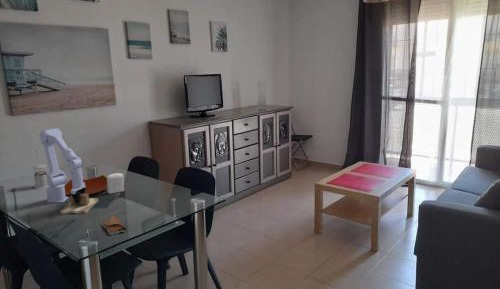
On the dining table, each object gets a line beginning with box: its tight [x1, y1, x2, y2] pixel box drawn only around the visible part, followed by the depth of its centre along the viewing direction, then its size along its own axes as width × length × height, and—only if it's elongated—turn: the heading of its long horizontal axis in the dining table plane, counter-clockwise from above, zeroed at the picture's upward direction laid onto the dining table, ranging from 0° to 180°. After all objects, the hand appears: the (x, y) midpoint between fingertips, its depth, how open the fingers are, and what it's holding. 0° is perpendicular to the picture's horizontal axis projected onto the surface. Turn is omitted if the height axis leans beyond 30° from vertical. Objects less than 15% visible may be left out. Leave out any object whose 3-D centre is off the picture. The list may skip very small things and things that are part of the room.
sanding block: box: [69, 192, 90, 206], centre depth 220 cm, size 9×4×6 cm, turn 91°
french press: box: [32, 150, 49, 190], centre depth 253 cm, size 10×12×25 cm
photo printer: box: [106, 172, 125, 194], centre depth 244 cm, size 10×4×12 cm, turn 124°
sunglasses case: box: [102, 214, 127, 232], centre depth 195 cm, size 18×7×7 cm
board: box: [59, 197, 99, 215], centre depth 221 cm, size 14×19×2 cm
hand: (79, 201), depth 221 cm, fingers open, 6 cm apart
